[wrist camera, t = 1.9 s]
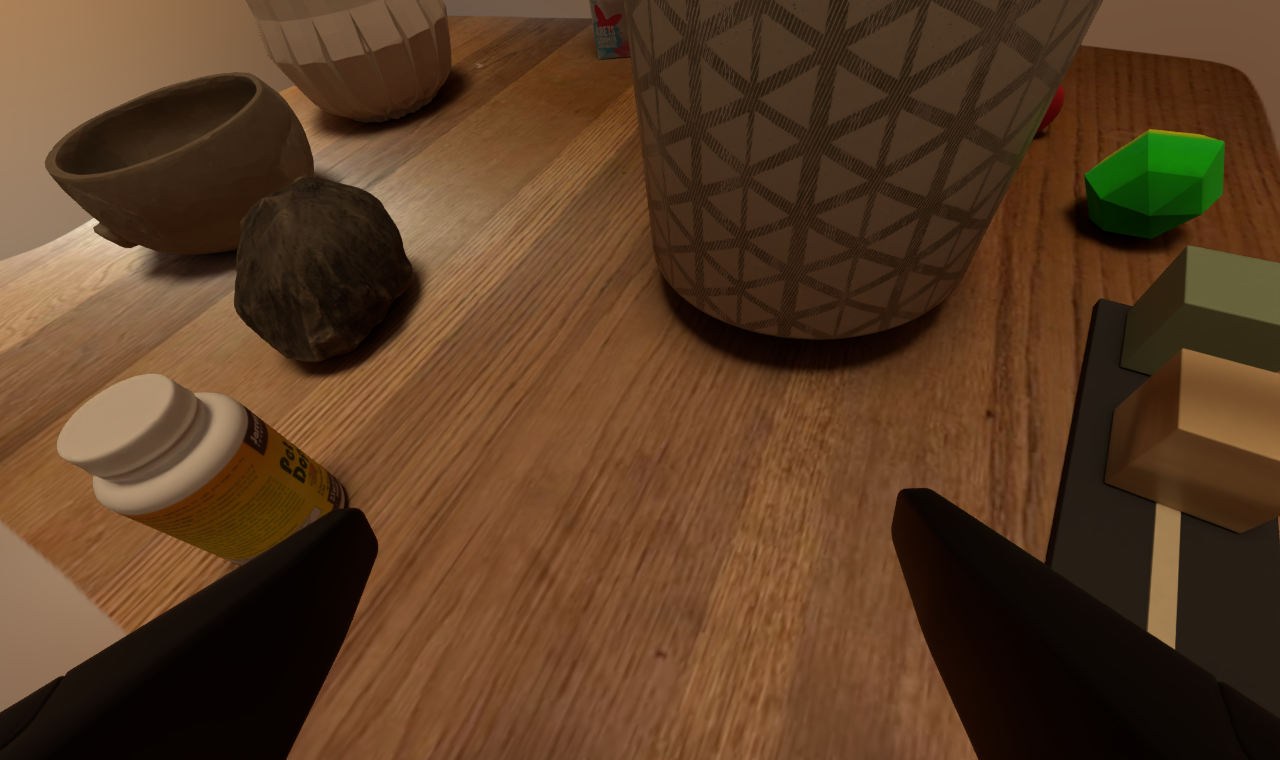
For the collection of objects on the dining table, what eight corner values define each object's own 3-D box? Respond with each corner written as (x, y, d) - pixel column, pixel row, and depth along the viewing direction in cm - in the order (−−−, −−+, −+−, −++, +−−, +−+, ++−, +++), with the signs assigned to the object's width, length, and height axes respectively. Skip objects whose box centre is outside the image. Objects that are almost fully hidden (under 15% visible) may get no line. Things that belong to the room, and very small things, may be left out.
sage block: (1237, 401, 23) (1329, 336, 20) (1119, 367, 25) (1184, 302, 22) (1235, 338, 25) (1318, 270, 22) (1126, 311, 27) (1187, 244, 24)
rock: (264, 392, 31) (147, 247, 24) (295, 303, 39) (214, 175, 32) (428, 351, 33) (362, 207, 26) (426, 275, 41) (374, 149, 35)
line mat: (1288, 924, 14) (1310, 930, 14) (1008, 755, 17) (1018, 754, 16) (1256, 346, 26) (1267, 337, 25) (1093, 305, 29) (1100, 296, 28)
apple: (1220, 137, 25) (1205, 64, 29) (1062, 195, 30) (1069, 125, 34) (1253, 244, 27) (1235, 161, 32) (1102, 280, 32) (1104, 205, 37)
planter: (656, 384, 29) (601, 17, 15) (657, 203, 41) (626, -99, 26) (1003, 365, 27) (1324, -82, 13) (898, 180, 39) (1004, -160, 24)
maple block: (1240, 534, 20) (1353, 484, 16) (1103, 483, 22) (1178, 428, 18) (1238, 449, 22) (1337, 388, 18) (1113, 409, 24) (1182, 347, 20)
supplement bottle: (369, 512, 26) (216, 399, 18) (269, 600, 24) (42, 514, 16) (321, 457, 29) (169, 337, 21) (227, 531, 26) (14, 428, 18)
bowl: (133, 310, 40) (-8, 201, 32) (171, 207, 51) (73, 106, 43) (345, 239, 43) (262, 122, 35) (339, 156, 54) (275, 52, 46)
